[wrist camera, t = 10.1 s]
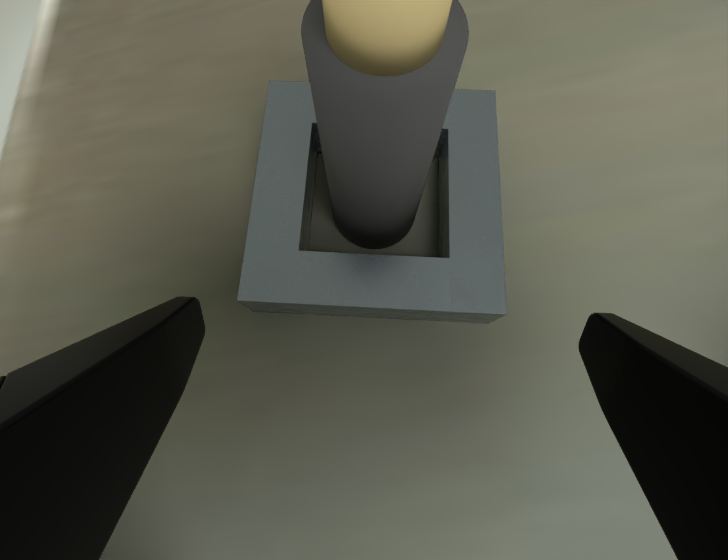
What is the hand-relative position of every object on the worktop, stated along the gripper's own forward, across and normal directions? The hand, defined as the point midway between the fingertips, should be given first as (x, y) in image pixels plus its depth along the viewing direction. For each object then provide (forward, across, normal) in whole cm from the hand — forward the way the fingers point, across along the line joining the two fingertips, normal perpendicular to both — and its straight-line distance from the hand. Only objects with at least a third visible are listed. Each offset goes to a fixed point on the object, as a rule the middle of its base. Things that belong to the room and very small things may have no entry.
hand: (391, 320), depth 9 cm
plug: (+13, 0, +2) cm, 13 cm away
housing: (+13, 0, +2) cm, 13 cm away
